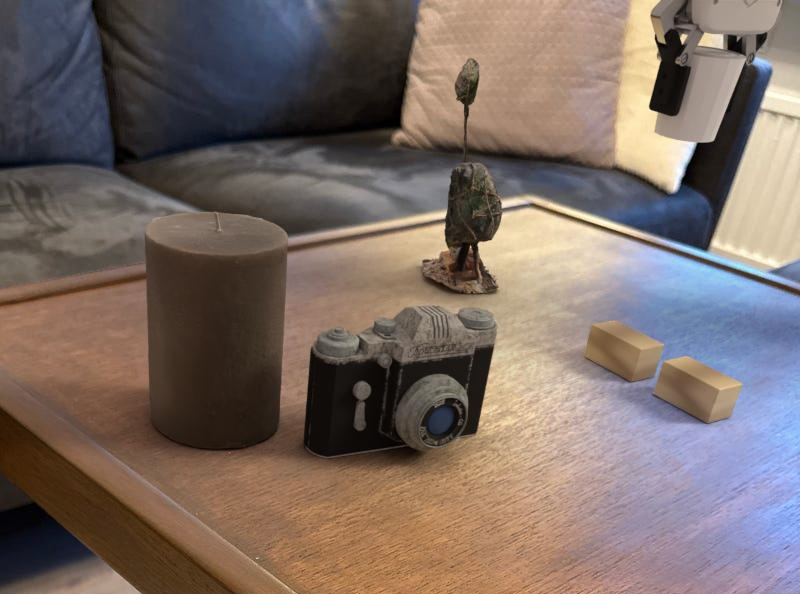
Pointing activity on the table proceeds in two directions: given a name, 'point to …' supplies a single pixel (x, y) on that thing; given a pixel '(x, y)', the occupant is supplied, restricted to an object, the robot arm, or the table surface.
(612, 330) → the bar
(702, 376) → the bar
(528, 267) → the table surface
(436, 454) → the table surface
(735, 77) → the white cup
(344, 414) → the camera
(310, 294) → the table surface
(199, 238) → the pillar candle
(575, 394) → the table surface
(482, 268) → the plant with pod
